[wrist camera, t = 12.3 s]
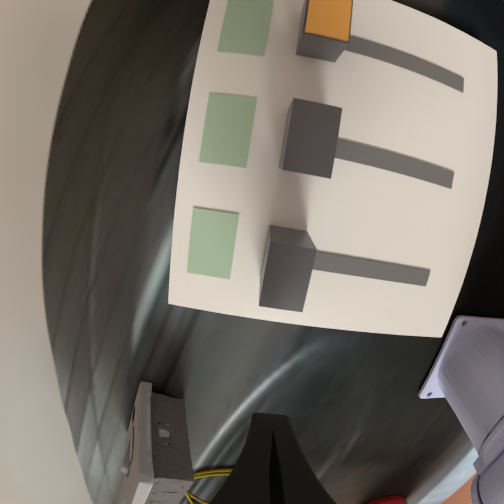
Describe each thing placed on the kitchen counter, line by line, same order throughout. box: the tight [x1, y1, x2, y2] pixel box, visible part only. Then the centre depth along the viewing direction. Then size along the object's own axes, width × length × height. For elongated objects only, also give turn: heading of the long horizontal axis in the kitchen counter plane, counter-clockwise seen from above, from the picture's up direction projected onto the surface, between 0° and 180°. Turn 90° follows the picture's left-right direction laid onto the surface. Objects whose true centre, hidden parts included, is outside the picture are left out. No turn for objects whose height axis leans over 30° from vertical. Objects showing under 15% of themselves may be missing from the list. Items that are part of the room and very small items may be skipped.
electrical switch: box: [121, 381, 194, 504], centre depth 20 cm, size 9×5×9 cm, turn 158°
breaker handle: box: [296, 0, 353, 63], centre depth 11 cm, size 2×3×3 cm, turn 172°
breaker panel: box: [168, 0, 497, 337], centre depth 14 cm, size 18×20×5 cm
